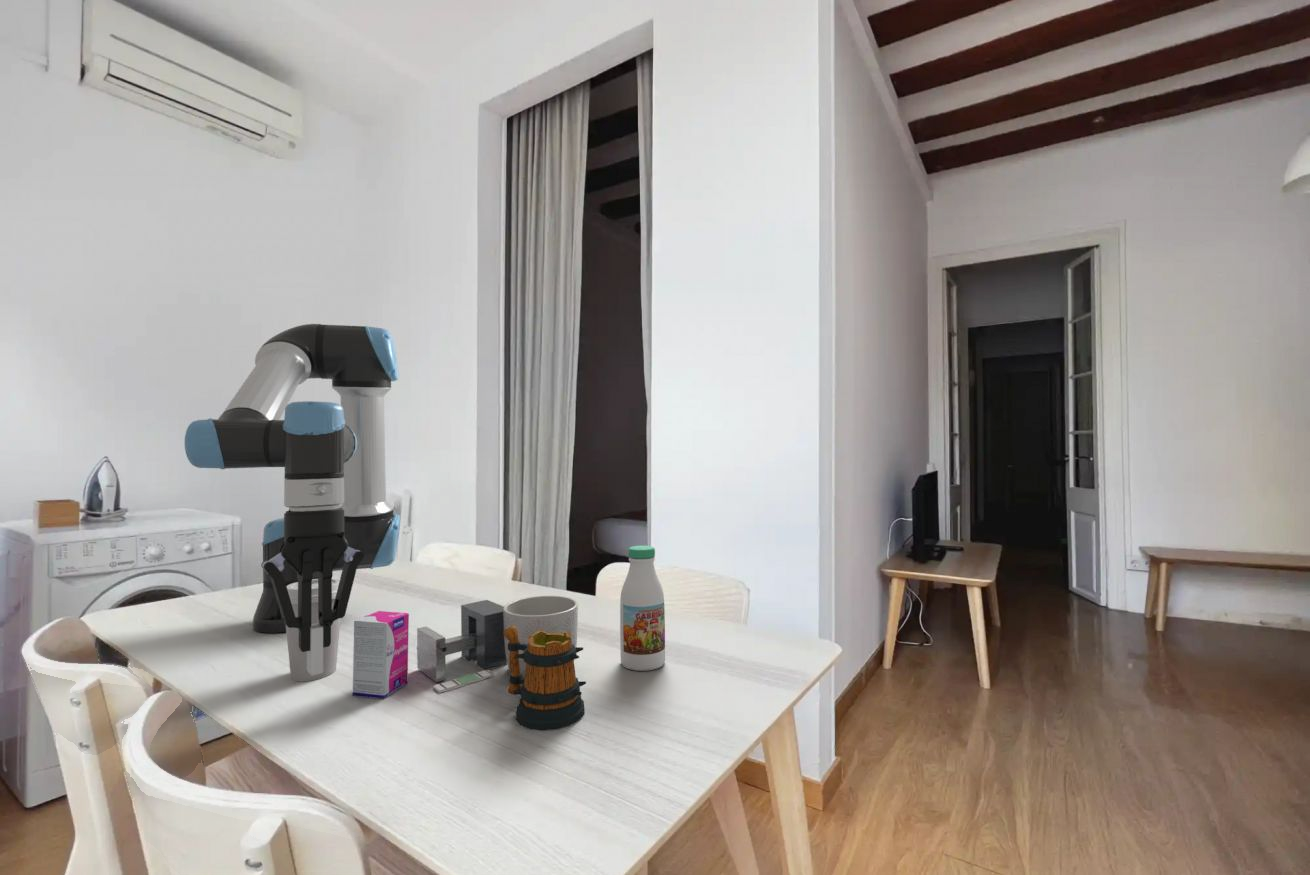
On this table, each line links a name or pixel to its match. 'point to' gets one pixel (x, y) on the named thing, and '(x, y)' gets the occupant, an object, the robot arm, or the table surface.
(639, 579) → the milk bottle
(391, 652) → the supplement box
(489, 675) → the strip
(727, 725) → the table surface
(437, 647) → the grey block with crossbar
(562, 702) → the mug
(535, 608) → the planter
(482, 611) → the box
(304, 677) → the coffee cup
